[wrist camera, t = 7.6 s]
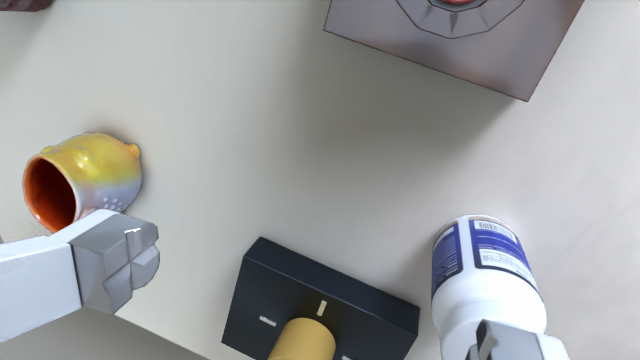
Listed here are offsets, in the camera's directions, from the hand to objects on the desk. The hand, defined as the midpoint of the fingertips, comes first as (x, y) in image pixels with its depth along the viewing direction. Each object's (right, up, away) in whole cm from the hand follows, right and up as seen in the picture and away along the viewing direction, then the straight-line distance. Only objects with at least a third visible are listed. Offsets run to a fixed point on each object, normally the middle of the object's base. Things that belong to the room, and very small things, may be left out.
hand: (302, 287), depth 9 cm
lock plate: (0, -9, +24) cm, 25 cm away
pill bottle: (+11, -2, +18) cm, 21 cm away
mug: (-18, +2, +25) cm, 31 cm away
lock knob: (0, -10, +21) cm, 23 cm away
